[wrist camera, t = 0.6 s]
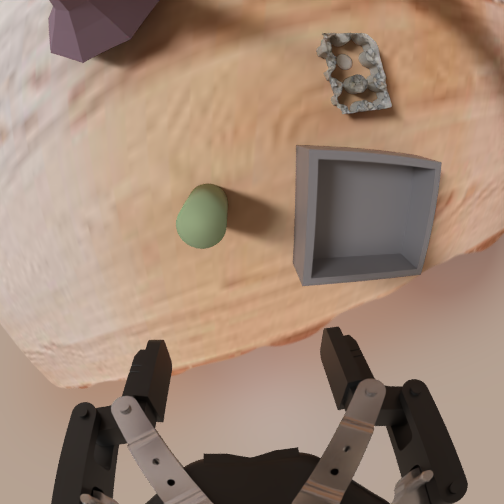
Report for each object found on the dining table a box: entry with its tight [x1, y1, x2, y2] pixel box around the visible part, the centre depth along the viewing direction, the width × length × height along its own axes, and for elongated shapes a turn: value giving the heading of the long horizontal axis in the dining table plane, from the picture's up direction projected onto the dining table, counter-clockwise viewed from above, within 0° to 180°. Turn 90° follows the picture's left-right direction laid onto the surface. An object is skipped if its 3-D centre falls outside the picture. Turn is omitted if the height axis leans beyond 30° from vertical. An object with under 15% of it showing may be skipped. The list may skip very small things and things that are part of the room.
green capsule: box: [176, 184, 228, 249], centre depth 30 cm, size 5×5×8 cm
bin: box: [293, 145, 441, 286], centre depth 33 cm, size 16×18×6 cm
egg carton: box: [316, 33, 392, 114], centre depth 26 cm, size 11×8×4 cm
